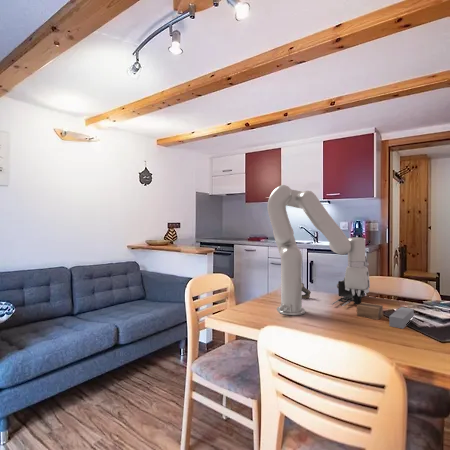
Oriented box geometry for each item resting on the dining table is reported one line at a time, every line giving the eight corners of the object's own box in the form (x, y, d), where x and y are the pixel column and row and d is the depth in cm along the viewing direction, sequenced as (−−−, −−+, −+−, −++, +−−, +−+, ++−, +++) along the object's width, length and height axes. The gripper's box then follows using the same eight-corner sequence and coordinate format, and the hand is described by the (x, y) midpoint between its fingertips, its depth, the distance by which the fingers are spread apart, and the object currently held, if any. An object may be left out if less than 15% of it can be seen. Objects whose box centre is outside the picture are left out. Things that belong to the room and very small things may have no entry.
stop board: (403, 328, 126) (403, 318, 126) (389, 326, 129) (389, 316, 129) (413, 318, 139) (413, 309, 139) (401, 315, 142) (401, 307, 142)
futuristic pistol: (287, 306, 179) (279, 290, 179) (312, 295, 177) (303, 278, 177) (288, 307, 176) (279, 291, 177) (312, 296, 174) (304, 279, 175)
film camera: (350, 291, 191) (350, 252, 191) (371, 294, 184) (371, 253, 183) (324, 306, 160) (323, 258, 160) (348, 309, 153) (347, 260, 152)
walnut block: (378, 320, 137) (378, 308, 137) (356, 316, 143) (356, 305, 143) (382, 316, 142) (382, 305, 142) (362, 312, 148) (362, 302, 148)
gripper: (376, 264, 144) (376, 304, 144) (343, 262, 154) (344, 299, 154) (370, 266, 139) (371, 308, 139) (337, 264, 149) (338, 303, 149)
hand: (357, 303), depth 147 cm, fingers closed
